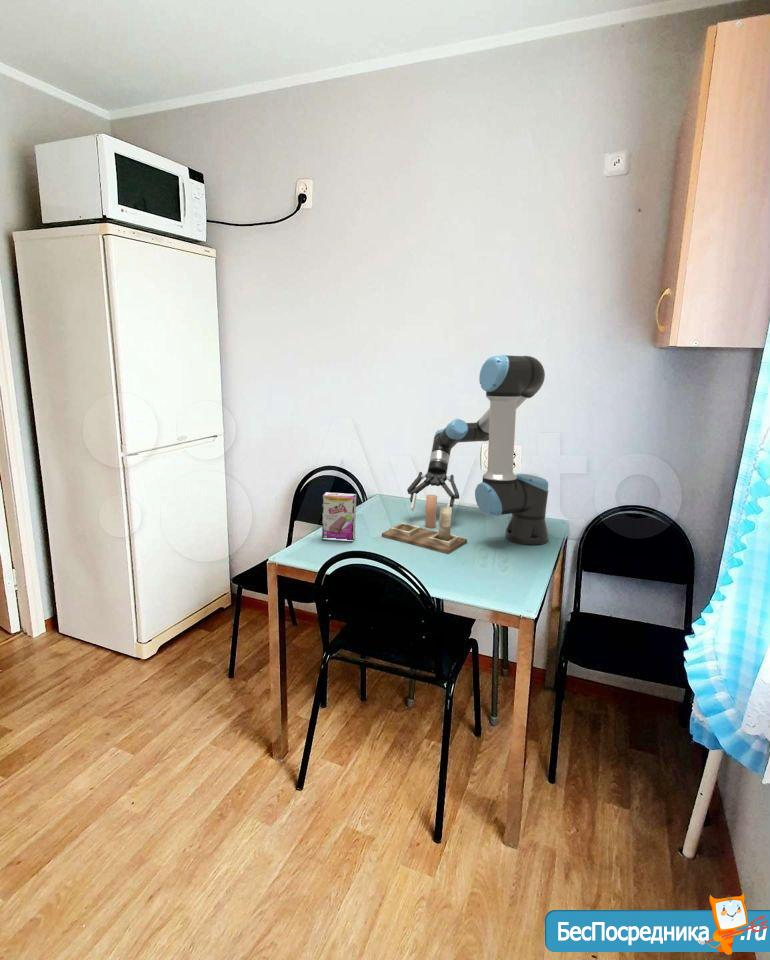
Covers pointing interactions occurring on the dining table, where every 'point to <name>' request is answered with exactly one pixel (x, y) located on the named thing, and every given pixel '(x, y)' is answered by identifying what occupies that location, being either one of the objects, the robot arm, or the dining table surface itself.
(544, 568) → the dining table surface
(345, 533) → the candy bar box
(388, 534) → the board
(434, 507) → the peg
